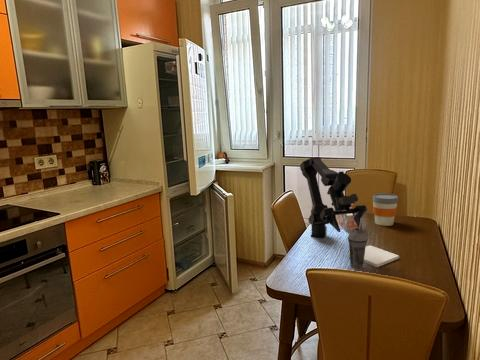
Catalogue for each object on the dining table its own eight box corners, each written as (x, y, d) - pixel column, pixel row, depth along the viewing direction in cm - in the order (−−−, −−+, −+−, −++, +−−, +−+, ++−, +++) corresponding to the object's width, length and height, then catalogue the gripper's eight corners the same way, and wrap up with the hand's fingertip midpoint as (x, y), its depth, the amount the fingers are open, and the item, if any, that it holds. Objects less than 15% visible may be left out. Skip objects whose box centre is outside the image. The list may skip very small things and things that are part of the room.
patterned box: (359, 232, 173) (359, 208, 171) (346, 233, 173) (347, 209, 170) (345, 219, 194) (345, 198, 192) (334, 220, 194) (334, 198, 191)
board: (348, 255, 146) (348, 252, 146) (370, 247, 153) (370, 245, 153) (376, 267, 134) (376, 264, 134) (398, 258, 141) (398, 255, 141)
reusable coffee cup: (399, 222, 186) (401, 195, 183) (392, 228, 177) (393, 200, 174) (376, 218, 194) (377, 192, 191) (368, 224, 185) (369, 196, 182)
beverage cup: (344, 263, 139) (345, 215, 135) (361, 262, 139) (363, 214, 135) (351, 271, 132) (352, 221, 128) (369, 270, 132) (371, 220, 128)
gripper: (323, 189, 139) (335, 223, 130) (365, 185, 142) (380, 219, 134) (315, 203, 148) (326, 236, 139) (355, 199, 151) (368, 231, 143)
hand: (350, 230), depth 138 cm, fingers open, 9 cm apart
